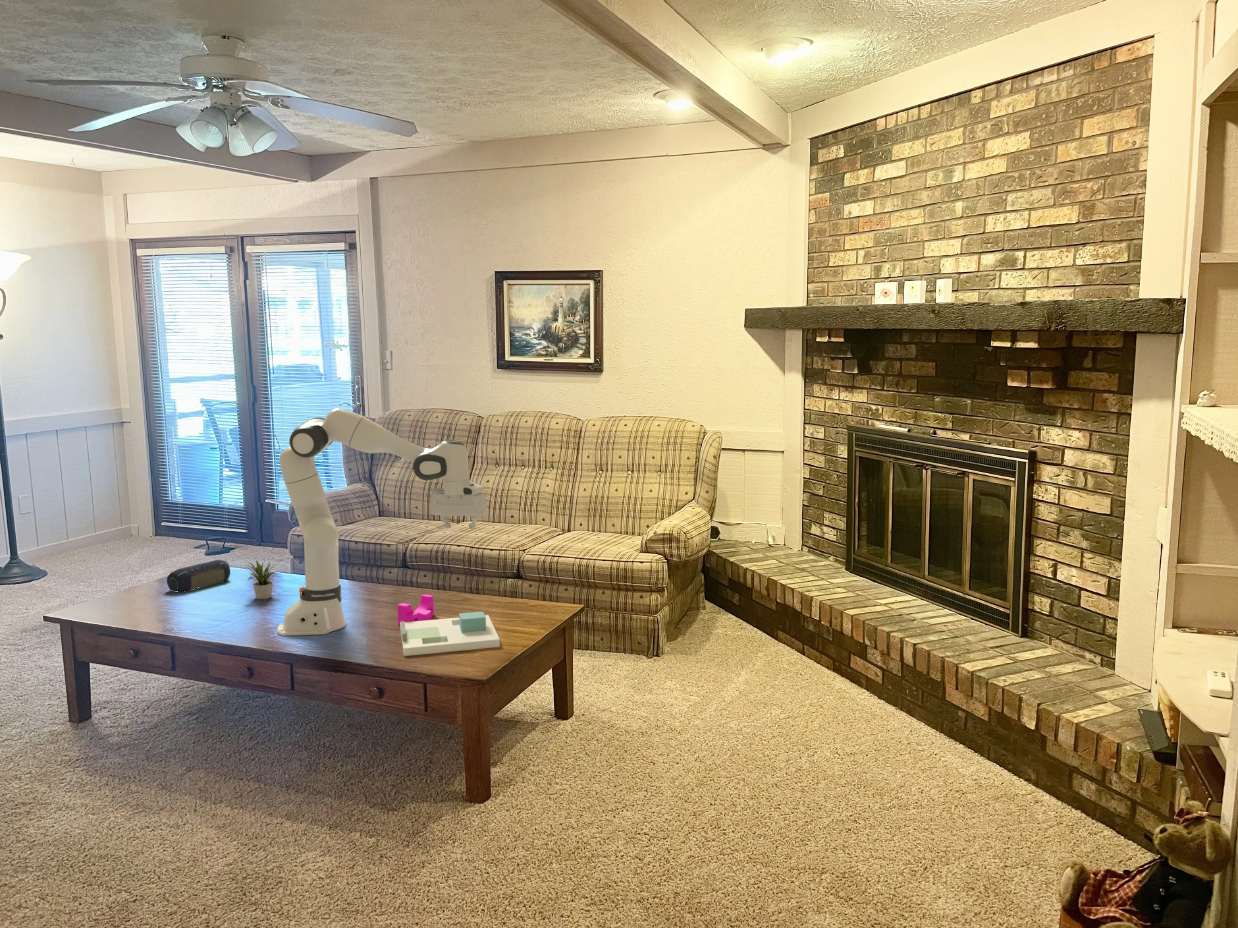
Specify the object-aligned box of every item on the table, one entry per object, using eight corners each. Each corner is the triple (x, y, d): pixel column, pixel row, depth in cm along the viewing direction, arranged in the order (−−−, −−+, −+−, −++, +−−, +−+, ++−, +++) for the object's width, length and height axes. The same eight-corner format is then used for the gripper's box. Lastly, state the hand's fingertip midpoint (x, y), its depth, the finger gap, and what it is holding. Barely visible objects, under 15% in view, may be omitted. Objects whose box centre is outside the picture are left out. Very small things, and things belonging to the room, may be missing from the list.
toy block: (412, 628, 318) (411, 607, 317) (398, 625, 321) (397, 604, 320) (439, 616, 331) (438, 596, 330) (425, 614, 334) (424, 594, 333)
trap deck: (403, 655, 289) (403, 640, 288) (400, 629, 316) (399, 615, 315) (499, 646, 297) (499, 631, 296) (488, 621, 324) (488, 607, 323)
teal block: (461, 632, 304) (461, 619, 303) (459, 626, 310) (459, 613, 310) (486, 630, 306) (485, 617, 305) (483, 624, 312) (483, 611, 312)
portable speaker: (180, 597, 361) (178, 572, 359) (164, 594, 366) (163, 569, 364) (236, 582, 382) (234, 559, 381) (220, 580, 387) (218, 556, 386)
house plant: (232, 603, 351) (229, 561, 349) (254, 593, 365) (251, 553, 362) (266, 605, 348) (263, 562, 346) (287, 595, 361) (284, 554, 359)
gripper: (425, 489, 312) (428, 529, 314) (478, 490, 305) (481, 531, 307) (435, 486, 318) (438, 525, 320) (488, 486, 311) (490, 527, 313)
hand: (460, 528), depth 314 cm, fingers open, 8 cm apart
